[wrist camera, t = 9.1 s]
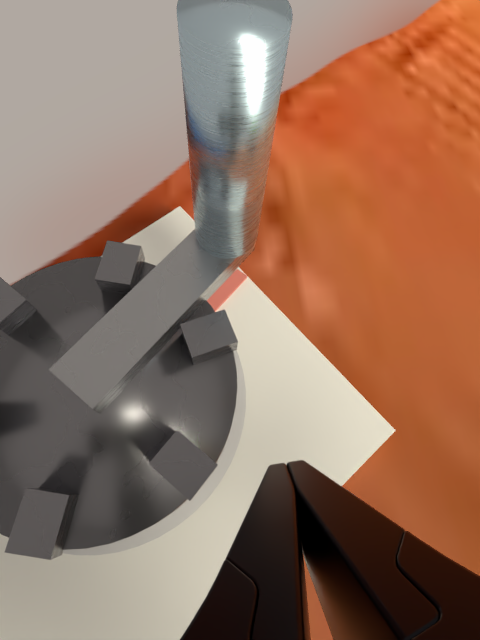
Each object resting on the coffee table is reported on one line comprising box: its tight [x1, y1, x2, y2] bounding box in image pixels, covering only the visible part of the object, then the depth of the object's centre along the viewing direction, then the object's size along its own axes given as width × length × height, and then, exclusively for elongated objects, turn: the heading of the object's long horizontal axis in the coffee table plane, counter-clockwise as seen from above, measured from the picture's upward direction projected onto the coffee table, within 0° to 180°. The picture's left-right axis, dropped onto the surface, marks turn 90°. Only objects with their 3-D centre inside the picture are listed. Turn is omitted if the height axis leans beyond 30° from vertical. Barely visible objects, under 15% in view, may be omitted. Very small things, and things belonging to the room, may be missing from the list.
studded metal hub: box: [0, 0, 293, 560], centre depth 13 cm, size 15×11×12 cm
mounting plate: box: [0, 206, 396, 640], centre depth 19 cm, size 17×18×3 cm
